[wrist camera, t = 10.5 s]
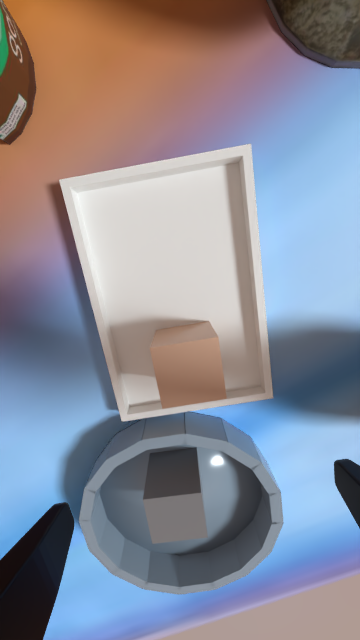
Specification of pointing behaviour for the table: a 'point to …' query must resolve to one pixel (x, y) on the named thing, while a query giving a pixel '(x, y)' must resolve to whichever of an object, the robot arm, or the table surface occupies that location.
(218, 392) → the matte tan cube
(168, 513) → the gray chunky prism
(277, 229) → the table surface
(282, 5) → the grey stone urn
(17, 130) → the food container
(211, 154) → the parts tray
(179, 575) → the bowl
